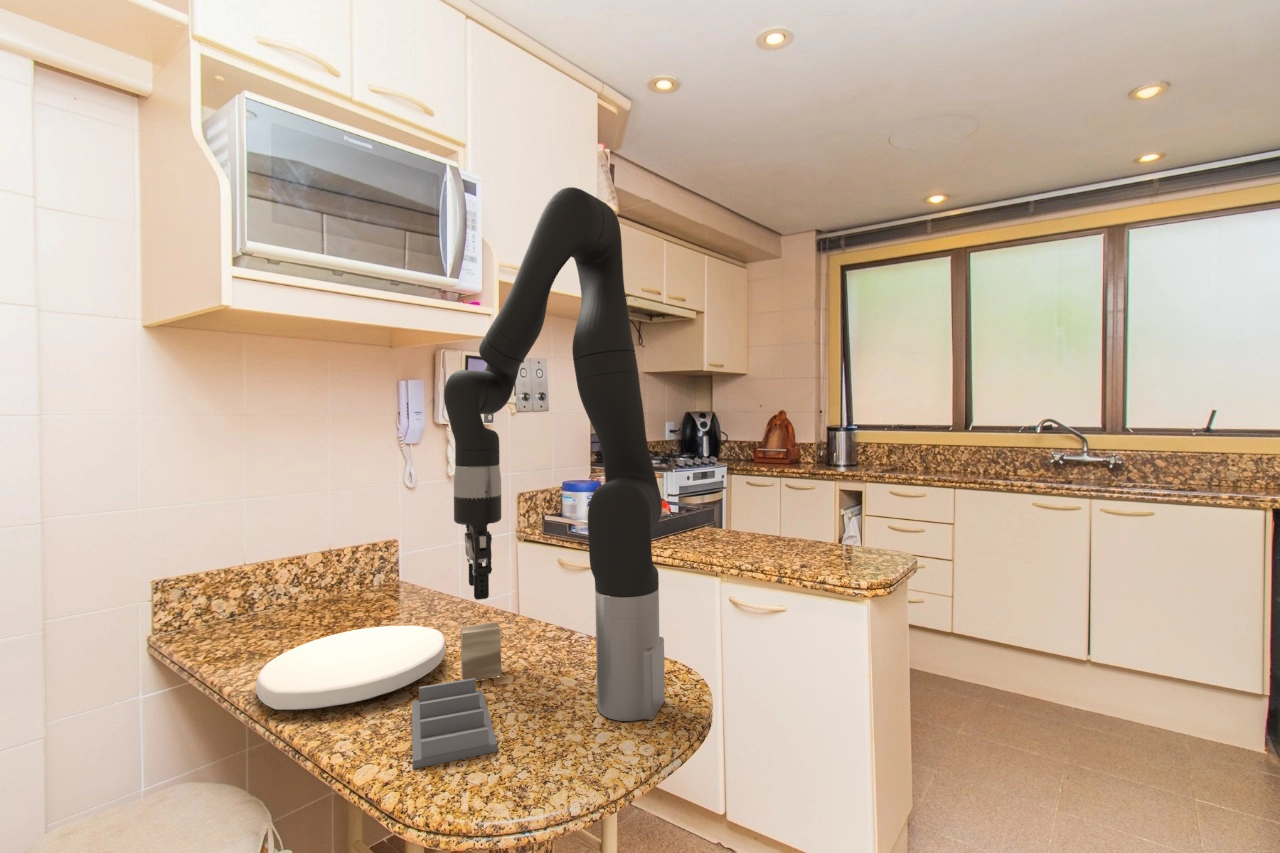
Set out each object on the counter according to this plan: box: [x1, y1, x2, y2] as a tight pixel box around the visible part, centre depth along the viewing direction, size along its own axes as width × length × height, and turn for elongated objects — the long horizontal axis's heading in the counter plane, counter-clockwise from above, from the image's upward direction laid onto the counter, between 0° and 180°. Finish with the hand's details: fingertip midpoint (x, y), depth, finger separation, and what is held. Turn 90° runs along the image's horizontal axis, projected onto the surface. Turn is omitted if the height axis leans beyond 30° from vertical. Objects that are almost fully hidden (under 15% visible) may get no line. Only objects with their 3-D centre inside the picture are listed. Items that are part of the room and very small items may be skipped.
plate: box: [255, 625, 446, 711], centre depth 100 cm, size 28×6×27 cm
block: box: [460, 621, 502, 681], centre depth 100 cm, size 4×6×8 cm, turn 111°
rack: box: [411, 678, 498, 770], centre depth 83 cm, size 17×10×3 cm, turn 21°
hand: (478, 591), depth 100 cm, fingers open, 8 cm apart
